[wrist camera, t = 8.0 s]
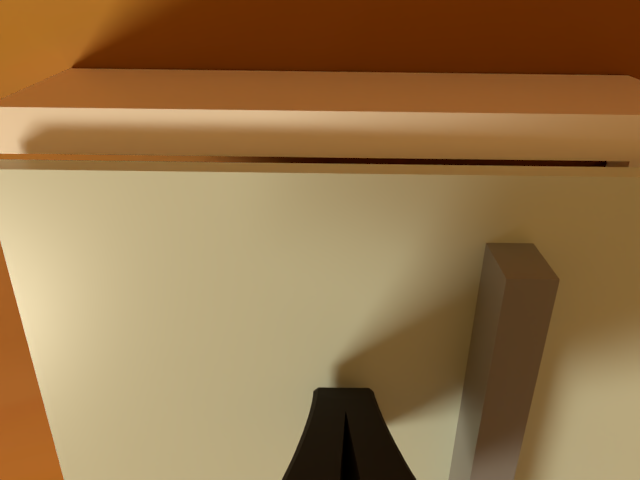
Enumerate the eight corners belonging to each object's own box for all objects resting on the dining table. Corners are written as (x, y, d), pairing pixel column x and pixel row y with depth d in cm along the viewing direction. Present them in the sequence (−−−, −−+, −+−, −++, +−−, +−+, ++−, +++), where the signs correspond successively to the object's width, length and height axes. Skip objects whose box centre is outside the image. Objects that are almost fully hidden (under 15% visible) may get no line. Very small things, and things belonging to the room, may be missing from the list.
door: (605, 546, 17) (640, 618, 15) (92, 540, 17) (64, 611, 15) (740, 168, 12) (818, 208, 10) (-4, 159, 12) (-65, 197, 10)
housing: (950, 450, 22) (1090, 561, 18) (136, 440, 22) (94, 549, 18) (1203, 82, 16) (1504, 125, 12) (69, 68, 16) (-17, 106, 12)
